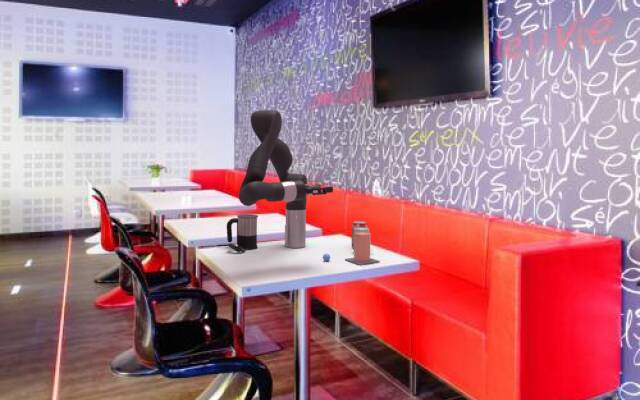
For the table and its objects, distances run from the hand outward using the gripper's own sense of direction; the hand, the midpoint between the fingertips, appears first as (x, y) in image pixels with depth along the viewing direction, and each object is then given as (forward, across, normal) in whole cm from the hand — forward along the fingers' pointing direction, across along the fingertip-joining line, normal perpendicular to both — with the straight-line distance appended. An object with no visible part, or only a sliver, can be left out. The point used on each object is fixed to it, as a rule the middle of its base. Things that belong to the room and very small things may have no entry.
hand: (326, 188), depth 196 cm
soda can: (+28, +14, +31) cm, 44 cm away
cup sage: (+22, +5, +30) cm, 38 cm away
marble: (+1, +1, +30) cm, 30 cm away
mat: (+13, -7, +30) cm, 33 cm away
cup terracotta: (+13, -7, +29) cm, 33 cm away
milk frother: (-18, +38, +30) cm, 52 cm away
